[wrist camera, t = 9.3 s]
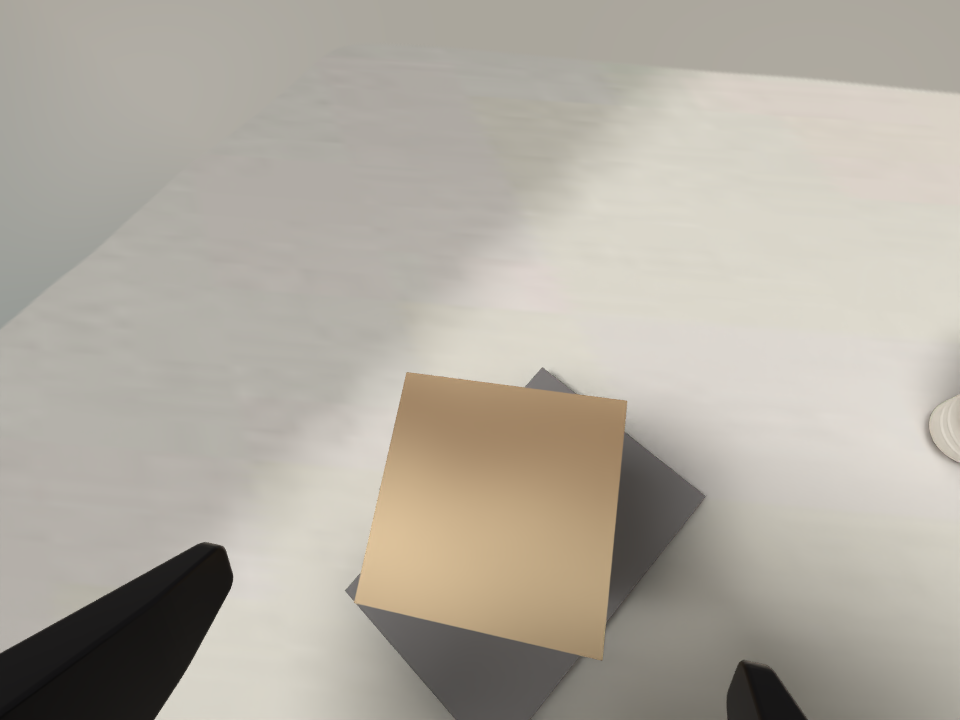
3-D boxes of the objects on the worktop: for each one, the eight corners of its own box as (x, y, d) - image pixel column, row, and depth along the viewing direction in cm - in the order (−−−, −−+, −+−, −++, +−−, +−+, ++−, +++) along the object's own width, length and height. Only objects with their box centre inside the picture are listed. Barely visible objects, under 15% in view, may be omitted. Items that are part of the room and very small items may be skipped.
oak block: (585, 597, 19) (602, 660, 10) (454, 570, 20) (353, 603, 11) (599, 462, 20) (626, 401, 11) (476, 443, 21) (406, 372, 12)
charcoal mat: (497, 752, 19) (494, 764, 18) (354, 588, 21) (345, 590, 20) (699, 498, 20) (705, 496, 19) (543, 374, 23) (542, 367, 22)
